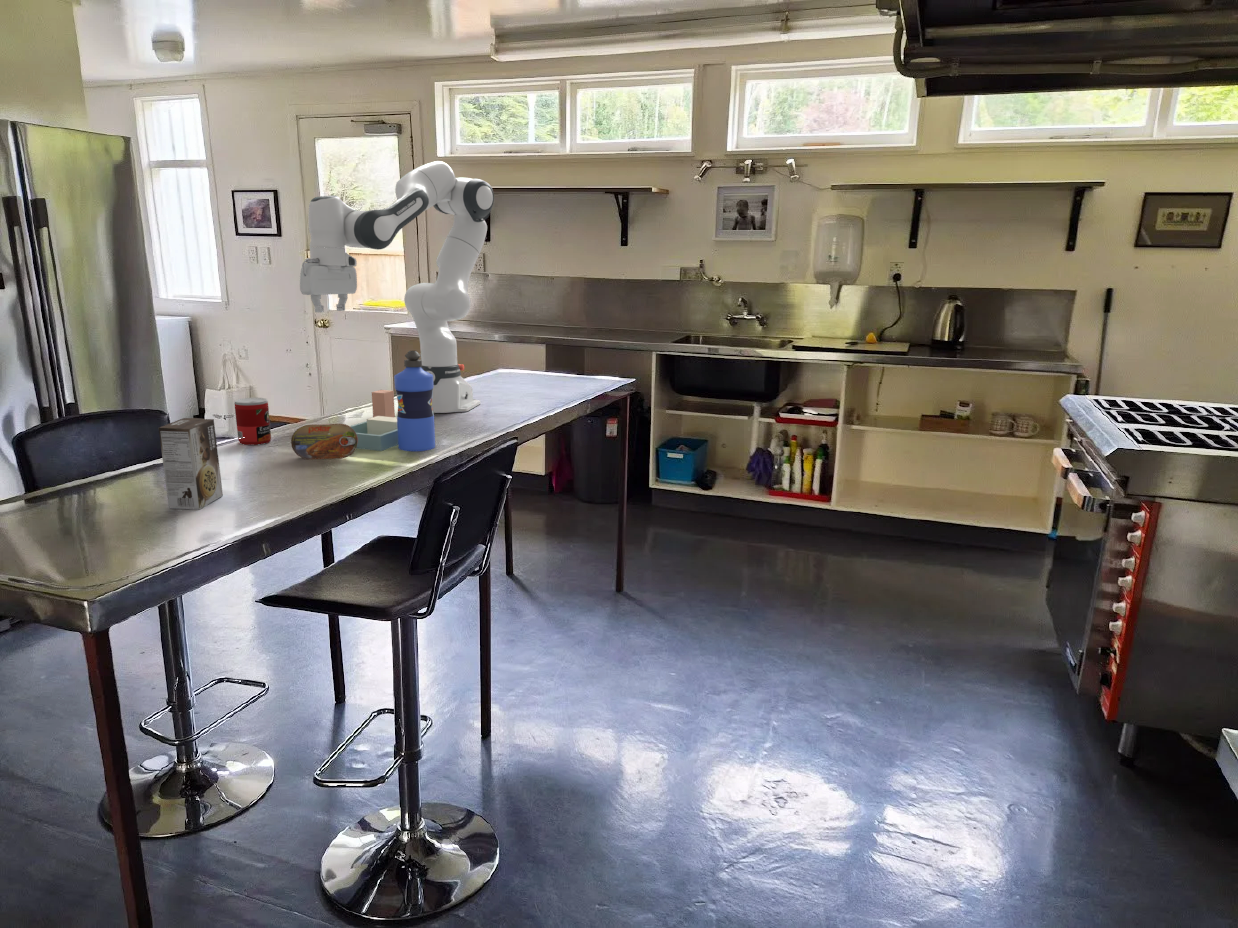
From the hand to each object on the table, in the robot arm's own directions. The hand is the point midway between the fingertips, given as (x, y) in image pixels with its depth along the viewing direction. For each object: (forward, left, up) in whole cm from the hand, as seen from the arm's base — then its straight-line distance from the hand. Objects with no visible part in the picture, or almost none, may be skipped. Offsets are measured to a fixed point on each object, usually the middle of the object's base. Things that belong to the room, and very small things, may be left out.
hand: (330, 311), depth 218 cm
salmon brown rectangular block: (-3, +13, -32) cm, 35 cm away
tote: (+11, +21, -32) cm, 40 cm away
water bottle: (+13, +34, -33) cm, 49 cm away
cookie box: (+67, +18, -33) cm, 77 cm away
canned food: (+22, -9, -33) cm, 40 cm away
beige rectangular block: (+7, +21, -32) cm, 39 cm away
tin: (+28, +18, -33) cm, 47 cm away
